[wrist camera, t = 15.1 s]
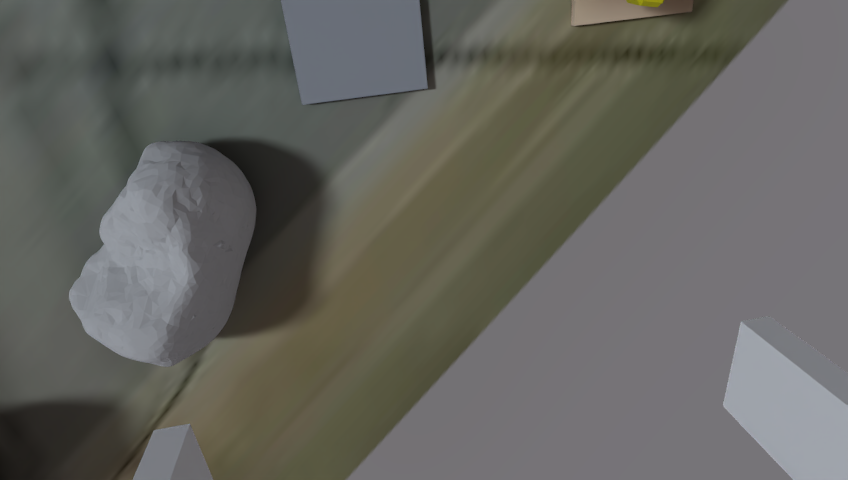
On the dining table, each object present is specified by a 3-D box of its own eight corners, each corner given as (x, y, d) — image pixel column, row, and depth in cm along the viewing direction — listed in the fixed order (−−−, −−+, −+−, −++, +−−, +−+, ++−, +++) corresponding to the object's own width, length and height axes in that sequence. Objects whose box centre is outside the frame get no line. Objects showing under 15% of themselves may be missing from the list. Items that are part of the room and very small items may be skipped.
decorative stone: (227, 368, 41) (115, 421, 32) (144, 305, 44) (18, 336, 35) (305, 179, 37) (202, 176, 28) (208, 121, 40) (83, 101, 30)
